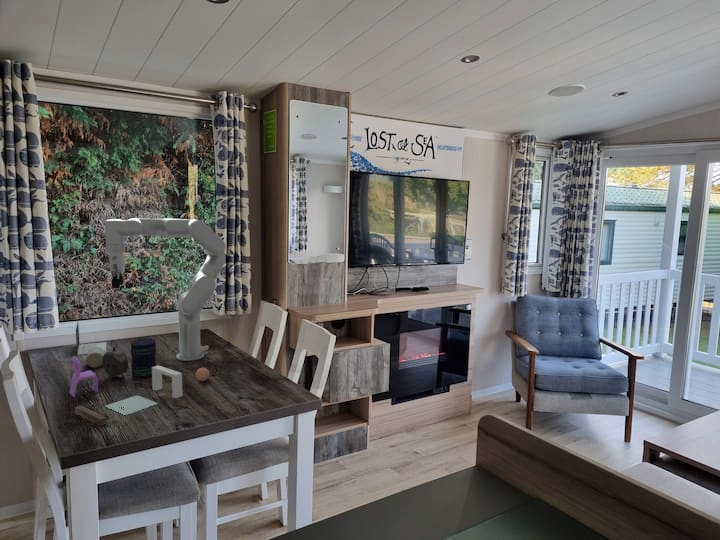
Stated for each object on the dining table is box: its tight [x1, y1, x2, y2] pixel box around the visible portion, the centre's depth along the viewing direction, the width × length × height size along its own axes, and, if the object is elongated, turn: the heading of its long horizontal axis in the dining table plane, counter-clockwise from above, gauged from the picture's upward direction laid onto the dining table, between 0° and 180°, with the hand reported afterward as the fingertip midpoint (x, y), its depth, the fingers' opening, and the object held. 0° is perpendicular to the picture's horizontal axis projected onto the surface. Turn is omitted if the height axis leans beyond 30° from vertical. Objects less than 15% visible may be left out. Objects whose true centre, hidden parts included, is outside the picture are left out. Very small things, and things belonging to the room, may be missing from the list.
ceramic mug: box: [85, 347, 107, 369], centre depth 226 cm, size 11×8×8 cm
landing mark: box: [104, 394, 159, 416], centre depth 184 cm, size 13×13×1 cm
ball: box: [195, 367, 210, 382], centre depth 210 cm, size 6×6×6 cm
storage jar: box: [130, 338, 158, 381], centre depth 214 cm, size 10×10×15 cm
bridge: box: [151, 364, 183, 399], centre depth 196 cm, size 3×14×9 cm, turn 56°
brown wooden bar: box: [74, 405, 107, 426], centre depth 172 cm, size 2×16×2 cm, turn 56°
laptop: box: [75, 321, 107, 356], centre depth 249 cm, size 18×12×13 cm
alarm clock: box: [101, 340, 129, 380], centre depth 210 cm, size 11×5×16 cm, turn 65°
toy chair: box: [68, 356, 99, 398], centre depth 194 cm, size 8×9×15 cm
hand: (117, 286), depth 224 cm, fingers open, 9 cm apart
